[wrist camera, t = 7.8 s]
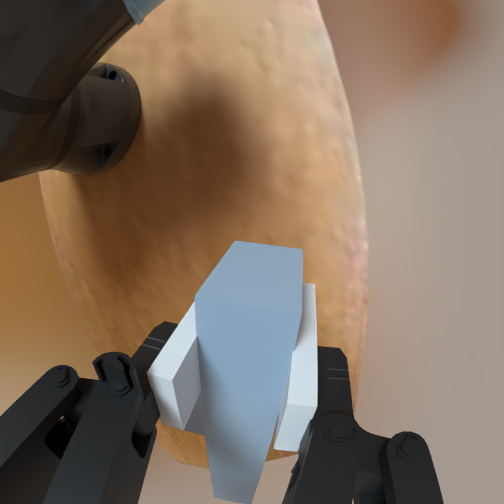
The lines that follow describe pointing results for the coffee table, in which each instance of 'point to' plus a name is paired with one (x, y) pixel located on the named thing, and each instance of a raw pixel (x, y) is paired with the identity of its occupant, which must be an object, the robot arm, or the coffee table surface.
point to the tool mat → (196, 419)
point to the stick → (246, 358)
